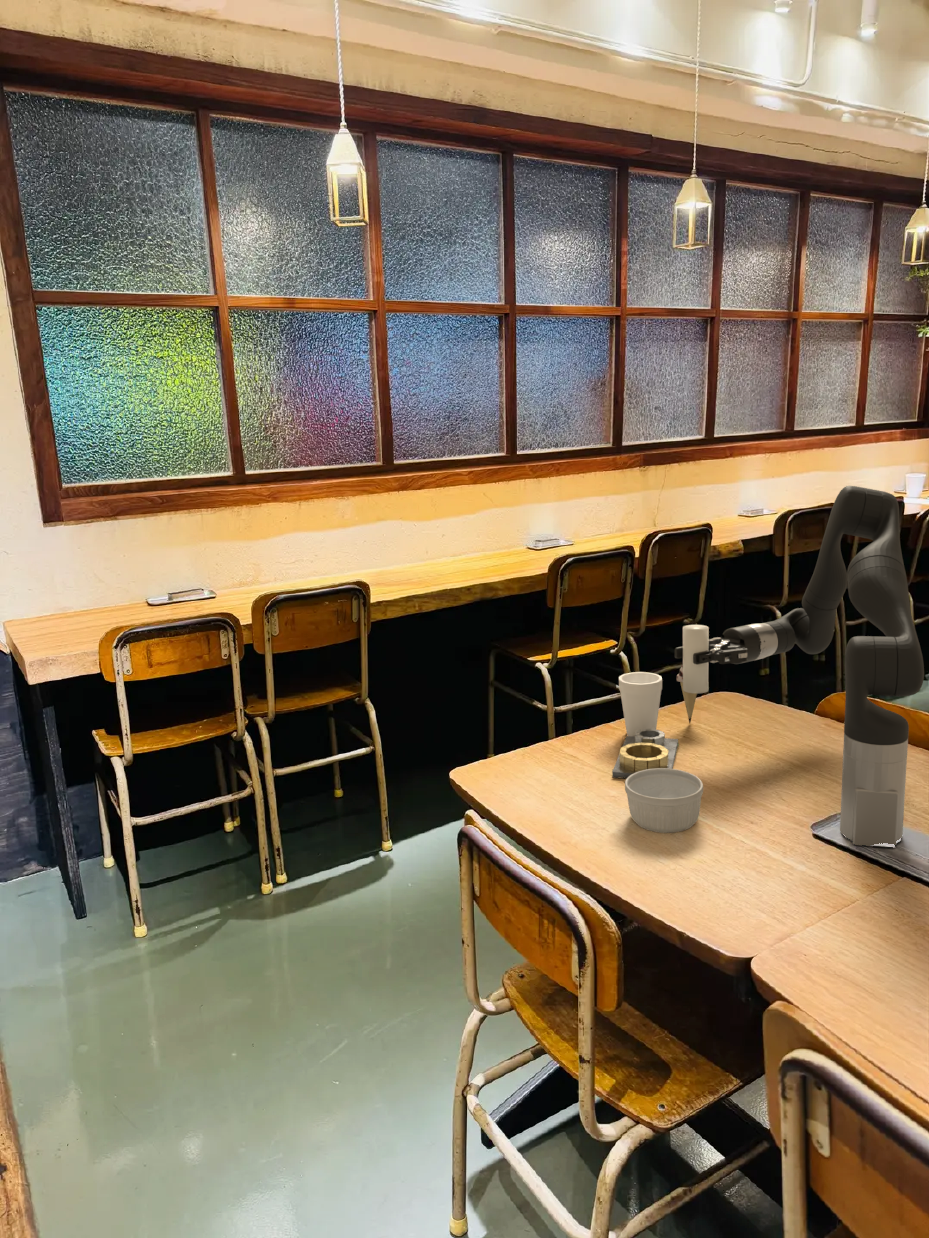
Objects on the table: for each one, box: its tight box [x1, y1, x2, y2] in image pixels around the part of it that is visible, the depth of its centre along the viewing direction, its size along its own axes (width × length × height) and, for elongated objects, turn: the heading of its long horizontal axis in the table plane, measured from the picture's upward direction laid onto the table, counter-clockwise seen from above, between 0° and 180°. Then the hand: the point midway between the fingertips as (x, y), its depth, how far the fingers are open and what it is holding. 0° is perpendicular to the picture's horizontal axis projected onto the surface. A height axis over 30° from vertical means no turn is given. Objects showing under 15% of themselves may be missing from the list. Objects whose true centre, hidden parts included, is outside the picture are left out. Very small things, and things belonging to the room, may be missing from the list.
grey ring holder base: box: [611, 728, 679, 780], centre depth 173 cm, size 20×11×4 cm, turn 161°
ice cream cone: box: [676, 665, 698, 724], centre depth 191 cm, size 6×6×15 cm
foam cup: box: [618, 671, 663, 736], centre depth 187 cm, size 10×9×13 cm
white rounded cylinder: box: [682, 624, 710, 694], centre depth 170 cm, size 5×5×13 cm
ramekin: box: [624, 768, 704, 834], centre depth 147 cm, size 13×13×7 cm
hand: (685, 656), depth 169 cm, fingers closed on white rounded cylinder, 5 cm apart
